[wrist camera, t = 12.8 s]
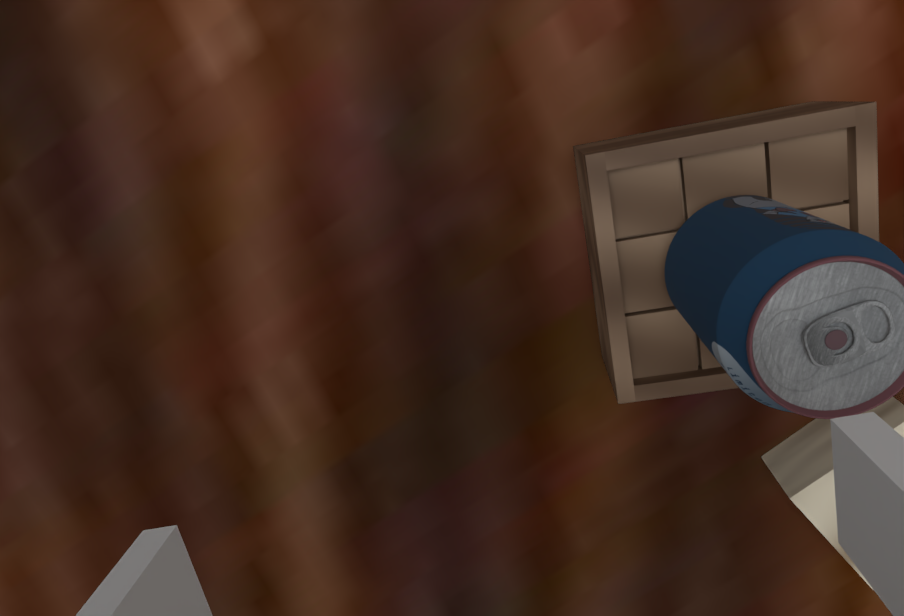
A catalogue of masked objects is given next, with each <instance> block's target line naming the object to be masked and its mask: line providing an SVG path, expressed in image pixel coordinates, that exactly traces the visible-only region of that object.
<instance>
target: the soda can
mask: <svg viewBox="0 0 904 616" xmlns="http://www.w3.org/2000/svg"><path fill="white" fill-rule="evenodd" d="M665 283H666V288H667V291H668V294H669V297H670V299H671V301H672V303H673V304H674V306H675V307H676V309H677V310H678V312H679V313H680V314H681V315H682V317H683V318H684V319H685V320H686V322H687V323H688V324H689V325H690V327H691V328H692V329H693V331H694V332H695V333H696V334H697V336H698V337H699V338H700V339H701V341H702V342H703V343H704V344H705V346H706V347H707V348H708V350H709V351H710V352H711V353H712V355H713V356H714V357H715V358H716V360H717V361H718V362H719V363H720V365H721V366H722V367H723V369H724V370H725V371H726V372H727V374H728V375H729V376H730V377H731V379H732V380H733V381H734V382H735V384H736V385H737V386H738V387H739V388H740V389H741V390H743V391H744V392H745V393H746V394H747V395H749V396H750V397H752V398H753V399H755V400H757V401H758V402H760V403H762V404H764V405H767V406H769V407H772V408H775V409H778V410H782V411H787V412H792V413H796V414H799V415H803V416H807V417H811V418H818V419H833V418H839V417H845V416H851V415H857V414H861V413H864V412H866V411H869V410H871V409H873V408H875V407H877V406H879V405H881V404H883V403H884V402H886V401H887V400H889V399H890V398H892V397H893V396H894V395H895V394H897V393H898V392H899V391H900V390H901V389H902V388H903V387H904V263H903V262H902V261H901V260H900V259H899V258H898V256H897V255H896V254H894V253H893V252H892V251H891V250H890V249H889V248H887V247H886V246H885V245H883V244H881V243H880V242H878V241H876V240H874V239H872V238H870V237H868V236H865V235H863V234H860V233H857V232H855V231H852V230H850V229H847V228H845V227H842V226H839V225H837V224H834V223H832V222H829V221H827V220H824V219H822V218H819V217H816V216H814V215H811V214H809V213H806V212H804V211H801V210H798V209H796V208H793V207H791V206H788V205H786V204H783V203H780V202H778V201H775V200H773V199H770V198H766V197H762V196H756V195H737V196H731V197H726V198H723V199H720V200H717V201H714V202H712V203H710V204H708V205H706V206H704V207H703V208H701V209H700V210H698V211H697V212H695V213H694V214H693V215H692V216H691V217H690V218H688V219H687V220H686V221H685V223H684V224H683V225H682V226H681V227H680V229H679V230H678V231H677V233H676V234H675V236H674V238H673V240H672V242H671V244H670V246H669V249H668V252H667V256H666V261H665Z"/></svg>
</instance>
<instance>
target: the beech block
mask: <svg viewBox="0 0 904 616" xmlns="http://www.w3.org/2000/svg"><path fill="white" fill-rule="evenodd" d="M870 412H874V413H875V414H877V415H878V416H879V417H880V418H881V419H882V420H884V421H885V422H886V423H887V424H888V425H889V426H890V427H892V428H893V429H894V430H895V431H896V432H897V433H899V434H900V435H901V436H902V437H903V438H904V405H903V404H902V403H901V402H899V401H898V400H897V399H895V398H894V397H892V398H890V399H889V400H887V401H886V402H884V403H883V404H881V405H879V406H877V407H875V408H873V409H871V410H869V411H866V412H864V413H870ZM864 413H861V414H864ZM761 458H762V459H763V461H764V462H765V464H766V465H767V467H768V468H769V470H770V471H771V472H772V474H773V475H774V477H775V478H776V480H777V481H778V482H779V484H780V485H781V487H782V488H783V490H784V491H785V493H786V494H787V495H788V497H789V498H790V499H791V501H792V502H793V503H794V504H795V505H796V506H797V507H798V508H799V509H800V510H801V512H802V513H803V514H804V515H805V516H806V517H807V518H808V519H809V520H810V521H811V522H812V524H813V525H814V526H815V527H816V528H817V529H818V530H819V531H820V532H821V533H822V534H823V536H824V537H825V538H826V539H827V540H828V541H829V542H830V543H831V544H832V545H833V547H834V548H835V549H836V550H837V551H838V552H839V553H840V554H841V555H842V556H843V557H844V559H845V560H846V561H847V562H848V563H849V564H850V565H851V566H852V567H853V568H854V570H855V571H856V572H857V573H858V574H859V575H860V576H861V577H862V578H863V579H864V580H865V582H866V583H867V584H868V585H869V586H870V587H871V585H870V584H869V583H868V581H867V580H866V579H865V577H864V576H863V575H862V573H861V572H860V571H859V569H858V568H857V567H856V565H855V564H854V563H853V561H852V560H851V559H850V557H849V556H848V555H847V553H846V552H845V551H844V550H843V548H842V547H841V546H840V544H839V543H838V530H837V515H836V499H835V484H834V469H833V453H832V438H831V423H830V419H818V418H816V419H814V420H813V421H812V422H810V423H809V424H807V425H806V426H804V427H803V428H801V429H800V430H799V431H797V432H796V433H794V434H793V435H791V436H790V437H789V438H787V439H786V440H784V441H783V442H781V443H780V444H779V445H777V446H776V447H774V448H773V449H771V450H770V451H768V452H767V453H766V454H764V455H763V456H761ZM871 588H872V587H871ZM872 589H873V588H872Z"/></svg>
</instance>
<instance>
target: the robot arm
mask: <svg viewBox="0 0 904 616" xmlns="http://www.w3.org/2000/svg"><path fill="white" fill-rule="evenodd" d="M830 423H831V438H832V453H833V469H834V484H835V499H836V515H837V530H838V543H839V544H840V546H841V547H842V548H843V550H844V551H845V552H846V553H847V555H848V556H849V557H850V559H851V560H852V561H853V563H854V564H855V565H856V567H857V568H858V569H859V571H860V572H861V573H862V575H863V576H864V577H865V579H866V580H867V581H868V583H869V584H870V585H871V587H872V588H873V589H874V591H875V592H876V593H877V595H878V596H879V597H880V599H881V600H882V601H883V603H884V604H885V605H886V607H887V608H888V609H889V611H890V612H891V613H892V615H893V616H904V438H903V437H902V436H901V435H900V434H899V433H897V432H896V431H895V430H894V429H893V428H892V427H890V426H889V425H888V424H887V423H886V422H885V421H884V420H882V419H881V418H880V417H879V416H878V415H877V414H875V413H874V412H870V413H864V414H857V415H851V416H845V417H839V418H833V419H830ZM76 616H212V613H211V610H210V608H209V605H208V603H207V600H206V598H205V595H204V593H203V590H202V588H201V585H200V583H199V580H198V578H197V575H196V573H195V570H194V567H193V565H192V562H191V560H190V557H189V555H188V552H187V550H186V547H185V545H184V542H183V540H182V537H181V535H180V532H179V530H178V527H177V525H174V526H168V527H162V528H156V529H149V530H143V531H142V533H141V534H140V535H139V536H138V538H137V539H136V540H135V541H134V543H133V544H132V545H131V546H130V548H129V549H128V550H127V551H126V553H125V554H124V555H123V557H122V558H121V559H120V560H119V562H118V563H117V564H116V565H115V567H114V568H113V569H112V570H111V572H110V573H109V574H108V575H107V577H106V578H105V579H104V581H103V582H102V583H101V584H100V586H99V587H98V588H97V589H96V591H95V592H94V593H93V594H92V596H91V597H90V598H89V599H88V601H87V602H86V603H85V605H84V606H83V607H82V608H81V610H80V611H79V612H78V613H77V615H76Z"/></svg>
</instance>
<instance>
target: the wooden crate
mask: <svg viewBox="0 0 904 616" xmlns="http://www.w3.org/2000/svg"><path fill="white" fill-rule="evenodd" d="M573 149H574V156H575V163H576V170H577V178H578V185H579V192H580V199H581V207H582V214H583V221H584V228H585V236H586V243H587V250H588V258H589V265H590V272H591V279H592V287H593V294H594V301H595V308H596V316H597V323H598V330H599V337H600V345H601V352H602V358H603V361H604V364H605V367H606V370H607V372H608V375H609V378H610V381H611V384H612V387H613V390H614V393H615V396H616V399H617V401H618V404H622V403H629V402H637V401H644V400H652V399H659V398H667V397H674V396H682V395H689V394H697V393H704V392H711V391H719V390H726V389H734V388H739V387H738V386H737V385H736V384H735V382H734V381H733V380H732V379H731V377H730V376H729V375H728V374H727V372H726V371H725V370H724V369H723V367H722V366H721V365H720V363H719V362H718V361H717V360H716V358H715V357H714V356H713V355H712V353H711V352H710V351H709V350H708V348H707V347H706V346H705V344H704V343H703V342H702V341H701V339H700V338H699V337H698V336H697V334H696V333H695V332H694V331H693V329H692V328H691V327H690V325H689V324H688V323H687V322H686V320H685V319H684V318H683V317H682V315H681V314H680V313H679V312H678V310H677V309H676V307H675V306H674V304H673V303H672V301H671V299H670V297H669V294H668V291H667V288H666V283H665V261H666V256H667V252H668V249H669V246H670V244H671V242H672V240H673V238H674V236H675V234H676V233H677V231H678V230H679V229H680V227H681V226H682V225H683V224H684V223H685V221H686V220H687V219H688V218H690V217H691V216H692V215H693V214H694V213H695V212H697V211H698V210H700V209H701V208H703V207H704V206H706V205H708V204H710V203H712V202H714V201H717V200H720V199H723V198H726V197H731V196H737V195H756V196H762V197H766V198H770V199H773V200H775V201H778V202H780V203H783V204H786V205H788V206H791V207H793V208H796V209H798V210H801V211H804V212H806V213H809V214H811V215H814V216H816V217H819V218H822V219H824V220H827V221H829V222H832V223H834V224H837V225H839V226H842V227H845V228H847V229H850V230H852V231H855V232H857V233H860V234H863V235H865V236H868V237H870V238H872V239H874V240H876V241H878V242H879V213H878V160H877V108H876V102H807V103H802V104H797V105H791V106H786V107H781V108H775V109H770V110H764V111H759V112H754V113H748V114H743V115H738V116H732V117H727V118H721V119H716V120H711V121H705V122H700V123H695V124H689V125H684V126H678V127H673V128H668V129H662V130H657V131H652V132H646V133H641V134H635V135H630V136H625V137H619V138H614V139H609V140H603V141H598V142H592V143H587V144H582V145H576V146H573Z"/></svg>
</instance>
